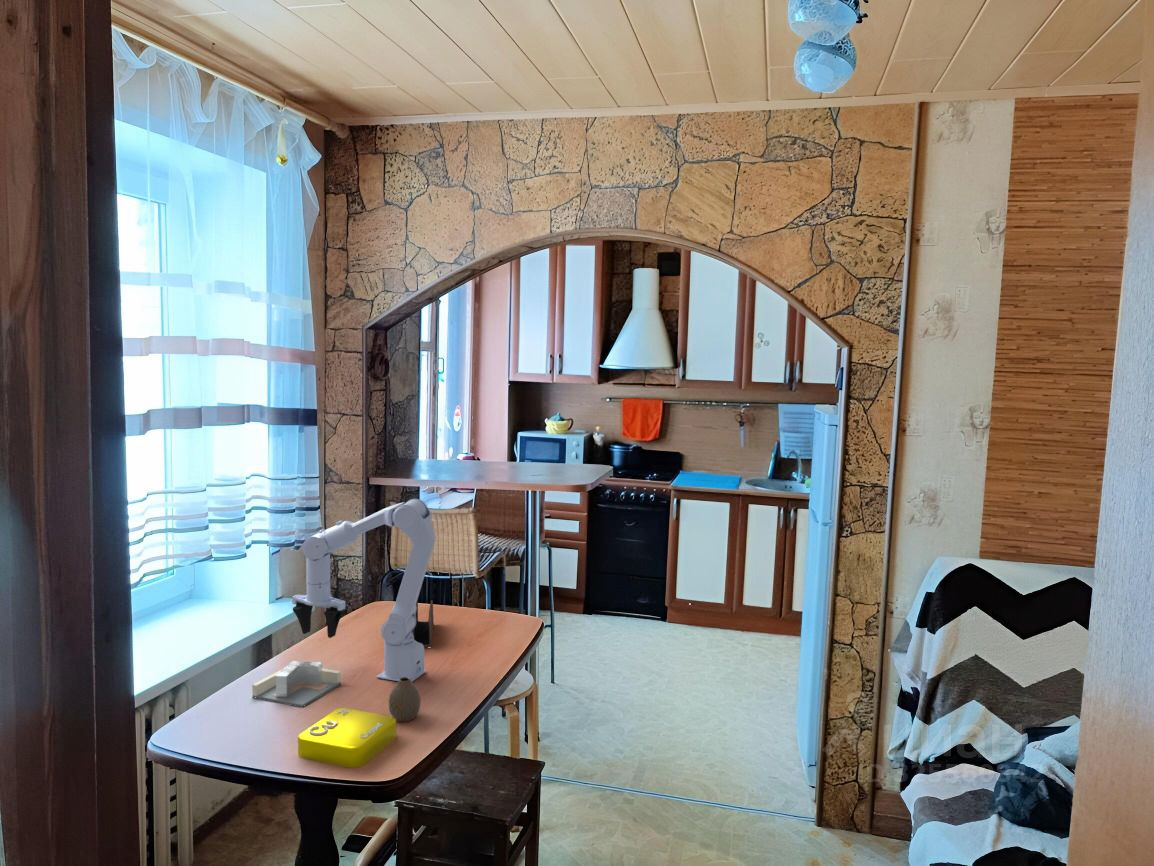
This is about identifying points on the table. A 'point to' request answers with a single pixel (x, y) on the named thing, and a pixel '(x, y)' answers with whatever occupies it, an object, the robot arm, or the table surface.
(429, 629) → the letter holder
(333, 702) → the table surface
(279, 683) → the bracket
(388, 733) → the element tile
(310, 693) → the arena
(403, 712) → the vase
